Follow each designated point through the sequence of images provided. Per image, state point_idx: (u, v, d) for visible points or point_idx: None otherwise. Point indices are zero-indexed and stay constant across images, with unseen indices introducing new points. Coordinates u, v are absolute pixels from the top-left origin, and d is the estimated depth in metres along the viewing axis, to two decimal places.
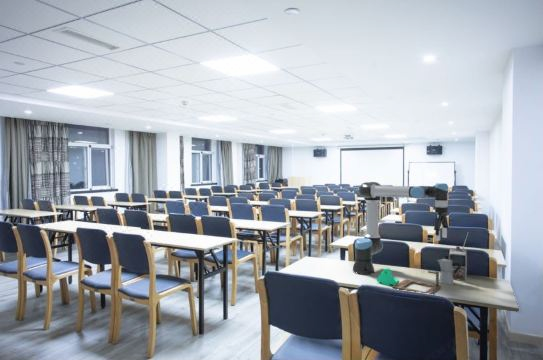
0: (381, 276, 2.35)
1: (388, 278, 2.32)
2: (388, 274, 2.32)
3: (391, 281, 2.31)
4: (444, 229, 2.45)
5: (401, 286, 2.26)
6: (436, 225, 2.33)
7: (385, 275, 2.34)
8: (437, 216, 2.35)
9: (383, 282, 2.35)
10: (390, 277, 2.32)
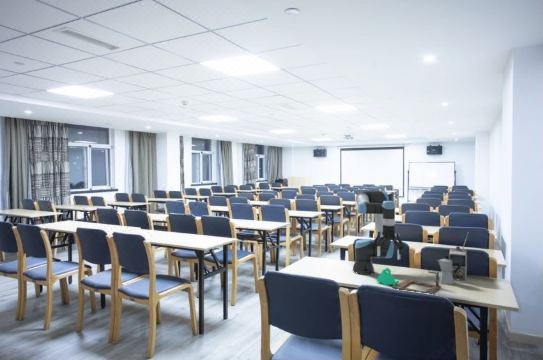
0: (381, 276, 2.35)
1: (388, 278, 2.32)
2: (388, 274, 2.32)
3: (391, 281, 2.31)
4: None
5: (401, 286, 2.26)
6: None
7: (385, 275, 2.33)
8: None
9: (383, 282, 2.34)
10: (390, 277, 2.31)
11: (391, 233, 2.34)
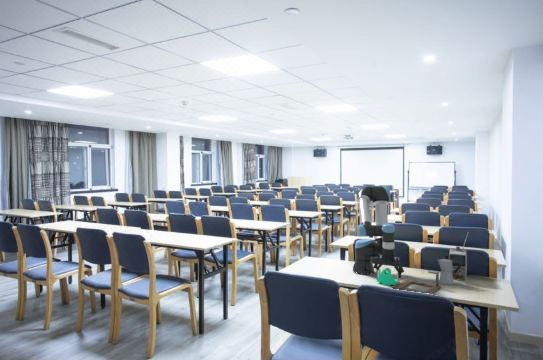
0: (381, 276, 2.35)
1: (388, 278, 2.32)
2: (388, 274, 2.32)
3: (391, 281, 2.31)
4: None
5: (401, 286, 2.26)
6: None
7: (385, 275, 2.33)
8: None
9: (383, 282, 2.34)
10: (390, 277, 2.31)
11: (391, 256, 2.34)
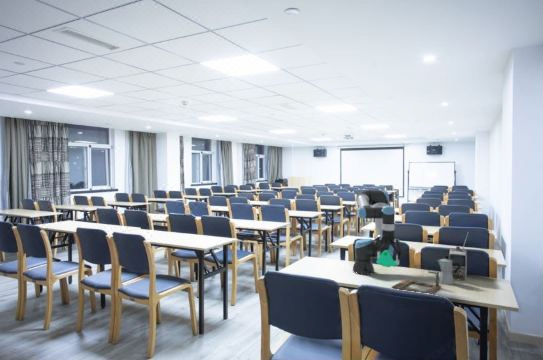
0: (381, 258, 2.35)
1: (388, 259, 2.32)
2: (388, 256, 2.32)
3: (391, 263, 2.31)
4: None
5: (401, 286, 2.26)
6: None
7: (385, 257, 2.33)
8: None
9: (383, 264, 2.34)
10: (390, 259, 2.31)
11: (391, 238, 2.34)
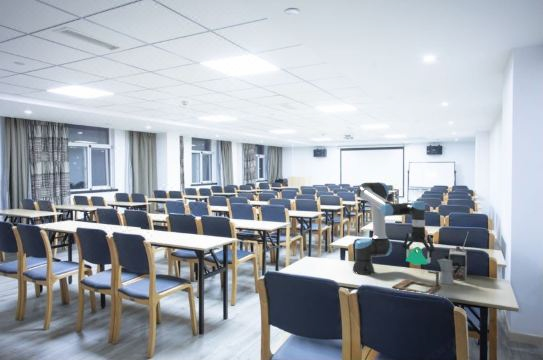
0: (411, 255, 2.24)
1: (418, 257, 2.21)
2: (418, 253, 2.21)
3: (422, 260, 2.19)
4: None
5: (401, 286, 2.26)
6: None
7: (415, 254, 2.22)
8: None
9: (413, 262, 2.23)
10: (421, 256, 2.20)
11: (421, 235, 2.23)
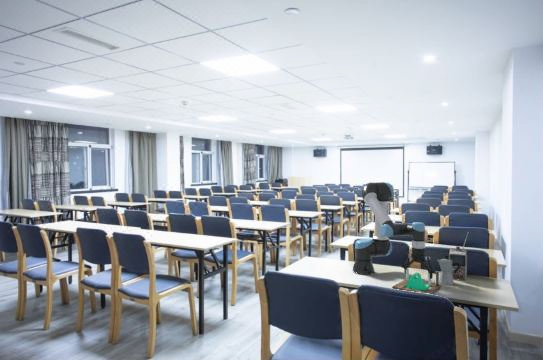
0: (410, 281, 2.24)
1: (418, 283, 2.21)
2: (418, 279, 2.21)
3: (421, 287, 2.20)
4: None
5: (401, 286, 2.26)
6: None
7: (415, 280, 2.22)
8: None
9: (413, 288, 2.23)
10: (420, 282, 2.20)
11: (421, 256, 2.23)
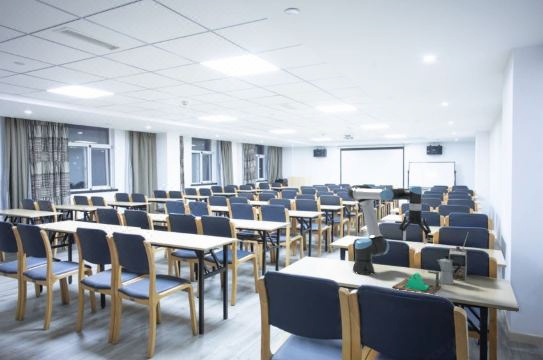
0: (410, 281, 2.24)
1: (418, 283, 2.21)
2: (418, 279, 2.21)
3: (421, 287, 2.20)
4: None
5: (401, 286, 2.26)
6: None
7: (415, 280, 2.22)
8: None
9: (412, 288, 2.23)
10: (420, 282, 2.20)
11: (417, 218, 2.36)
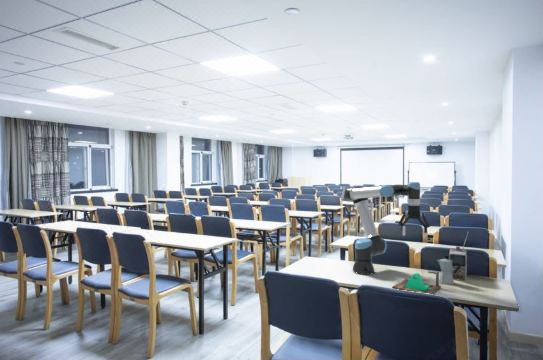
0: (410, 281, 2.23)
1: (418, 283, 2.21)
2: (418, 279, 2.20)
3: (421, 287, 2.19)
4: None
5: (401, 286, 2.26)
6: None
7: (414, 280, 2.22)
8: None
9: (412, 288, 2.23)
10: (420, 283, 2.20)
11: (416, 213, 2.42)
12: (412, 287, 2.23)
